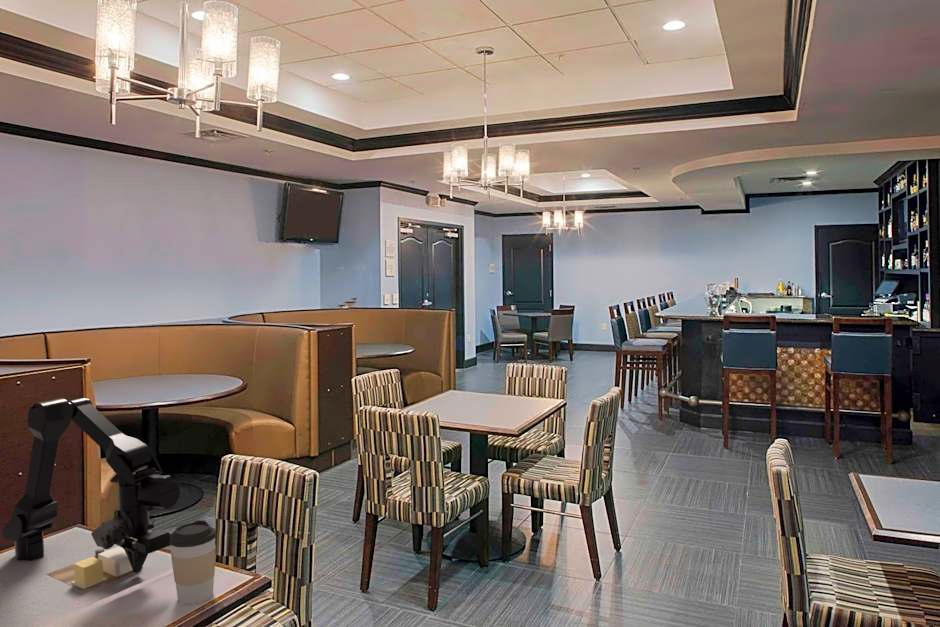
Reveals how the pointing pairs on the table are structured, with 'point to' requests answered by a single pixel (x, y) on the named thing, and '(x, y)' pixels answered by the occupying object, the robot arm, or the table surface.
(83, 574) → the block
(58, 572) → the board
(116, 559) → the cover
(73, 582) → the thin mint green panel
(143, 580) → the table surface
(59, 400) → the robot arm
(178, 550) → the coffee cup
